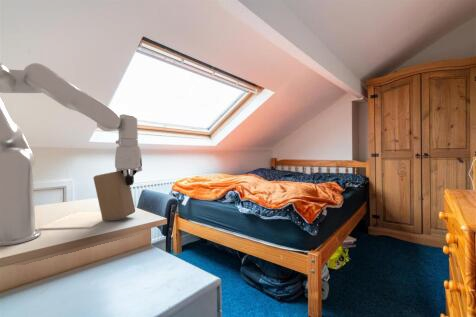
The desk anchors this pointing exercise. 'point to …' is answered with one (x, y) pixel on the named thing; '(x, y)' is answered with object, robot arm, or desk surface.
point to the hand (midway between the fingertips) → (129, 184)
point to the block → (113, 196)
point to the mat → (75, 221)
